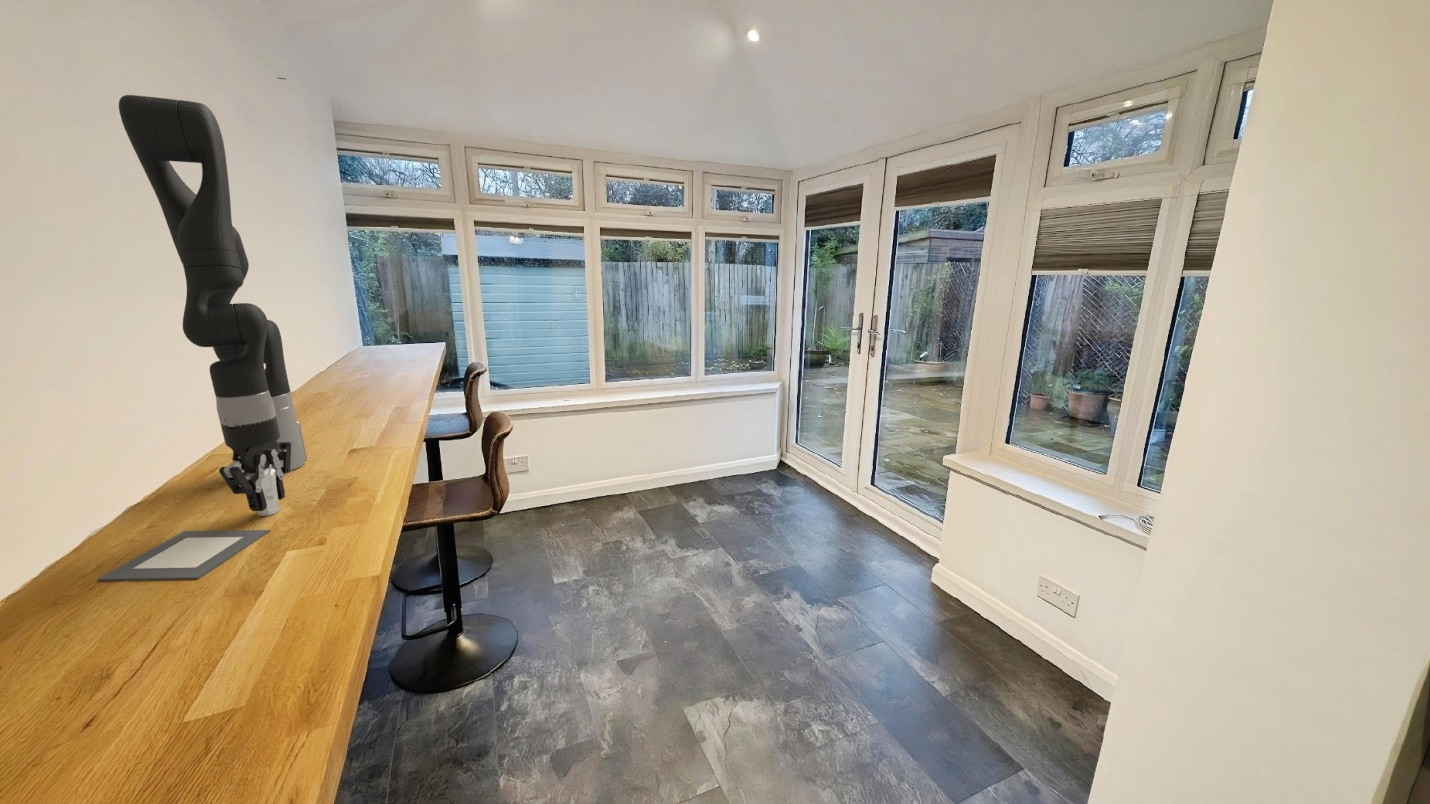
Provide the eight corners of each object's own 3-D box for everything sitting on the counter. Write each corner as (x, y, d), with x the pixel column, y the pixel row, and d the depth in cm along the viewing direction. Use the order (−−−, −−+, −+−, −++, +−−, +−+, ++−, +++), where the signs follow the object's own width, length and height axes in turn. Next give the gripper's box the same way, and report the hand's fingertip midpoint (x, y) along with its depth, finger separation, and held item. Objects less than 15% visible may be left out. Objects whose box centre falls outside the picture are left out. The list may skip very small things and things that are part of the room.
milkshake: (270, 520, 94) (257, 469, 92) (246, 516, 95) (233, 466, 93) (294, 508, 99) (282, 460, 96) (271, 505, 100) (259, 457, 97)
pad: (185, 532, 90) (184, 530, 90) (270, 531, 91) (269, 529, 91) (97, 580, 76) (97, 578, 76) (198, 579, 77) (198, 576, 77)
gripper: (257, 406, 99) (276, 488, 103) (189, 430, 85) (214, 523, 90) (298, 406, 99) (315, 488, 104) (237, 430, 85) (260, 523, 90)
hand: (268, 504), depth 97 cm, fingers closed on milkshake, 4 cm apart
